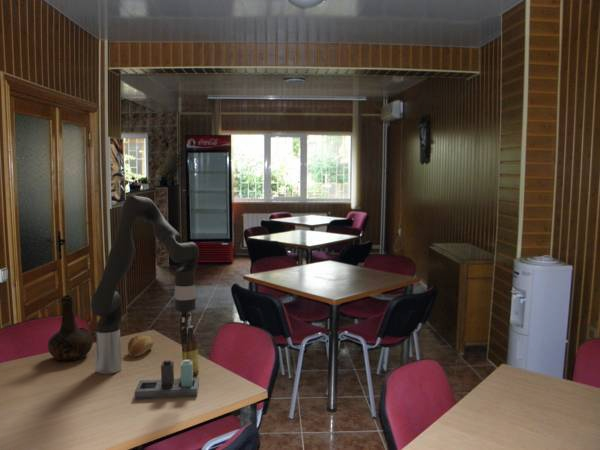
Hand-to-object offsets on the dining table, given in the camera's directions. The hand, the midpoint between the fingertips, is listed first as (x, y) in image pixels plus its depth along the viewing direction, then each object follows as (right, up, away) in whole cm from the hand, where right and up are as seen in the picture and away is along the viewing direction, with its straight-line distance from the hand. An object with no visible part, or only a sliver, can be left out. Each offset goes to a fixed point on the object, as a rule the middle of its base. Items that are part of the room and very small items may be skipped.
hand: (185, 339), depth 187 cm
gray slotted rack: (-7, -20, +1) cm, 21 cm away
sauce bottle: (-2, -18, +19) cm, 26 cm away
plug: (0, -20, +2) cm, 20 cm away
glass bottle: (-59, -17, +37) cm, 72 cm away
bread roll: (-31, -16, +43) cm, 55 cm away
